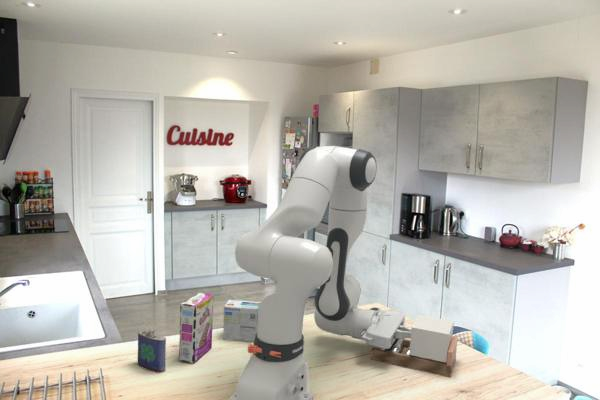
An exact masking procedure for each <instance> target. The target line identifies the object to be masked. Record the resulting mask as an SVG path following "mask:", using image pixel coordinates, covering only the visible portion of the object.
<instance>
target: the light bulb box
mask: <svg viewBox="0 0 600 400" xmlns="http://www.w3.org/2000/svg"><path fill="white" fill-rule="evenodd" d="M260 302H261V301H253V300H251V301H250V300H249V301H248V300H234V299H229V300H227V302H226V303H225V305H224V306H223V329H222V330H223V334H222V339H223V340H228V341H229V340H230V341H238V342H239V341H240V342H249V343H250V342H251V343H254V339H255V335H256V333H257V319H258V306H259V304H260Z"/></svg>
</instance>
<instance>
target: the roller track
mask: <svg viewBox="0 0 600 400" xmlns="http://www.w3.org/2000/svg"><path fill="white" fill-rule="evenodd" d="M458 338H459V337H458V336H456V335H453V337H452V341H451V344H450V347H449V350H448V356H447V363H445V362H441V361H436V360H431V359H426V358H422V357H417V356H412V355H409V354H410V340H411V339H409V338H403V339H399V338H396V340H395V341H394V343H393V344H392V346H391V348H389V349H384V348H380V347H376V348H375V347H372V348H371V353H370V360H371V361H376V362H379V363H384V364H389V365H394V366H398V367H402V368H403V367H404V368H407V369H411V370H416V371H420V372H425V373H430V374H433V375H438V376H443V377H447V378H451V377H452V374H453V369H454V366H455V363H456V360H457V359H456V358H457V347H458V346H457V345H458Z"/></svg>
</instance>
